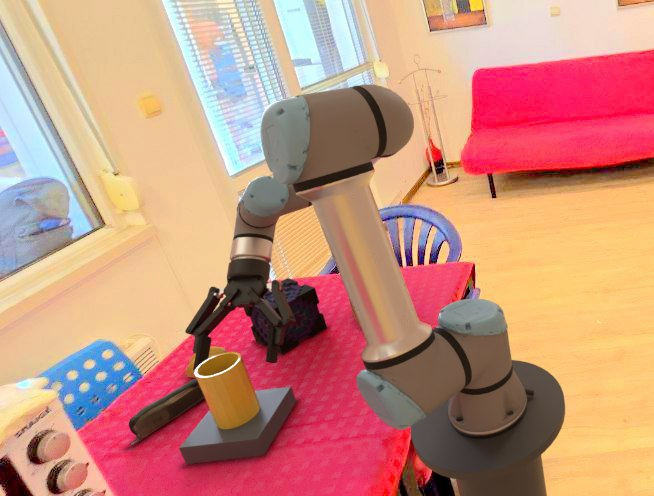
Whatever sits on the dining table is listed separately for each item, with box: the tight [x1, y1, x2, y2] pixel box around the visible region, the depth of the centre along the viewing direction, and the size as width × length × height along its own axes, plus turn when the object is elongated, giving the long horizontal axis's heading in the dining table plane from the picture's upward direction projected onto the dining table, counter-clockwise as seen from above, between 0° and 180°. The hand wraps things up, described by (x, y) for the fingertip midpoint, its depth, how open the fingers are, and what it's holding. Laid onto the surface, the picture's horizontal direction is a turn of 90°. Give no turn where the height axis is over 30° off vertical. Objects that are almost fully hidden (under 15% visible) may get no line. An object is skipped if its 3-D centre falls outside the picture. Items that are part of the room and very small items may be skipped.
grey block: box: [178, 386, 297, 465], centre depth 101 cm, size 14×14×4 cm
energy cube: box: [242, 277, 328, 355], centre depth 130 cm, size 12×12×12 cm
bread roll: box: [184, 345, 228, 379], centre depth 122 cm, size 8×9×4 cm
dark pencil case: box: [128, 378, 205, 447], centre depth 106 cm, size 5×3×15 cm
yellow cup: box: [194, 351, 260, 429], centre depth 98 cm, size 7×7×12 cm
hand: (235, 366), depth 101 cm, fingers open, 13 cm apart
